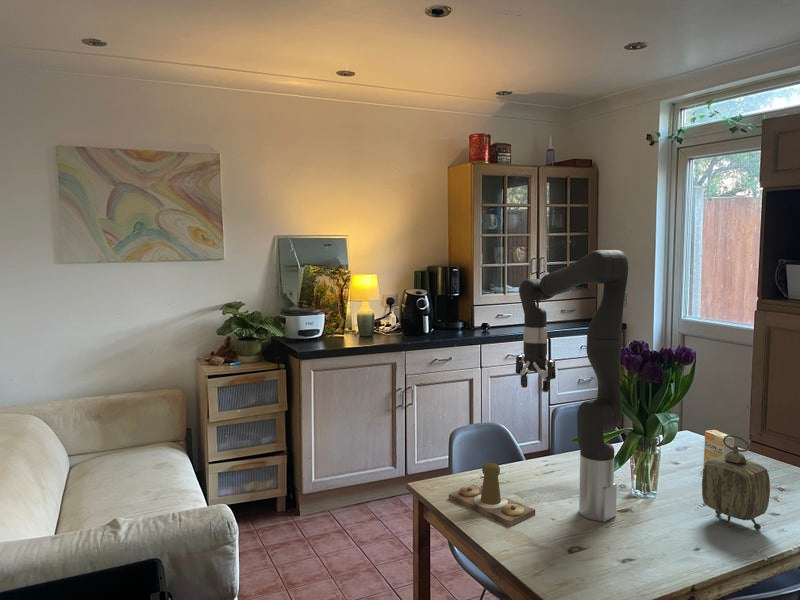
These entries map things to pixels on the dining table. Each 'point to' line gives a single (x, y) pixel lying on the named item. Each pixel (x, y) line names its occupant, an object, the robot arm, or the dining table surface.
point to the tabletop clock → (736, 485)
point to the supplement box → (716, 444)
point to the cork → (490, 484)
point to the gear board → (492, 506)
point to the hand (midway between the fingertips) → (534, 389)
